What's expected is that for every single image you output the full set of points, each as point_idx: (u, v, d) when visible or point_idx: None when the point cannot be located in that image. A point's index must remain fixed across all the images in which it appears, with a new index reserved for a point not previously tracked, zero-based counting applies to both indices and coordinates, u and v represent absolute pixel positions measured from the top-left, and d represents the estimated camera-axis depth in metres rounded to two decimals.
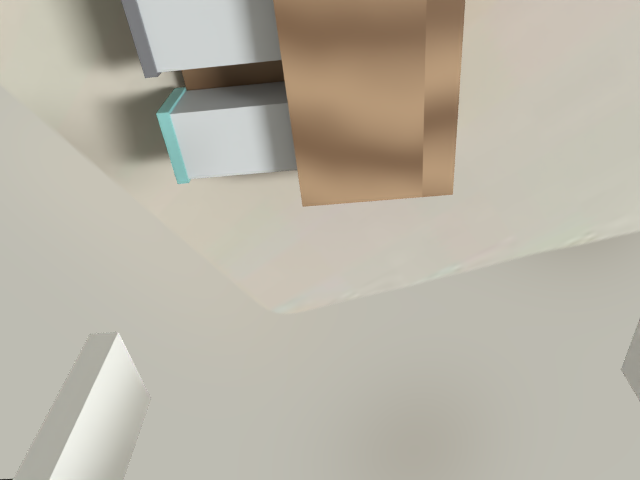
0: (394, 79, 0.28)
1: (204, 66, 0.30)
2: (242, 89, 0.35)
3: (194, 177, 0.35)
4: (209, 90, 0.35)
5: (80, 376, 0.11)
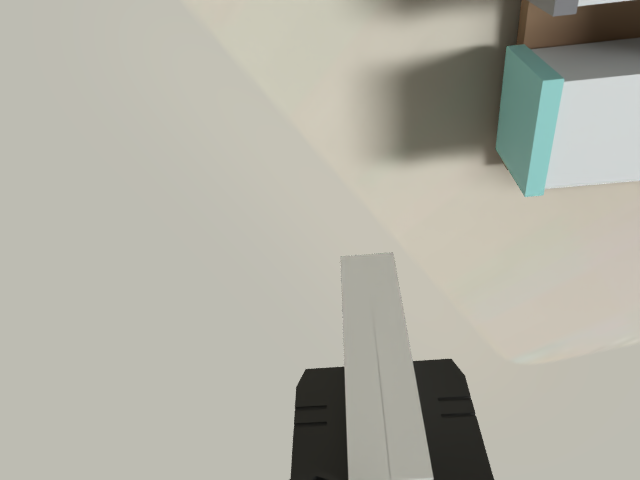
0: None
1: None
2: (634, 45, 0.22)
3: (553, 186, 0.22)
4: (569, 47, 0.22)
5: (354, 288, 0.13)
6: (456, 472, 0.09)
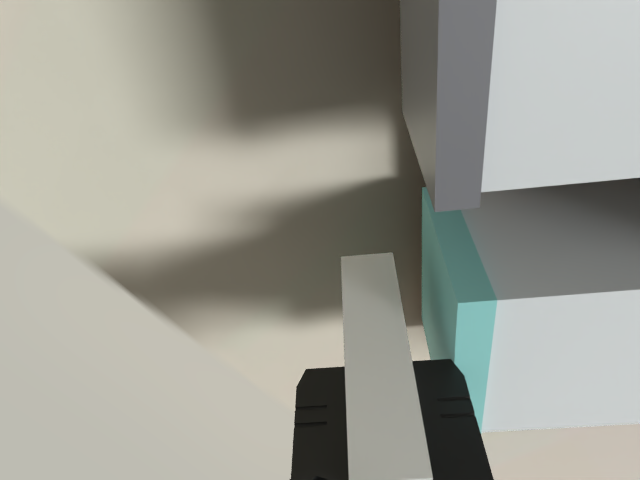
0: None
1: None
2: (628, 198, 0.13)
3: (495, 430, 0.13)
4: (520, 194, 0.14)
5: (354, 287, 0.13)
6: (456, 472, 0.09)
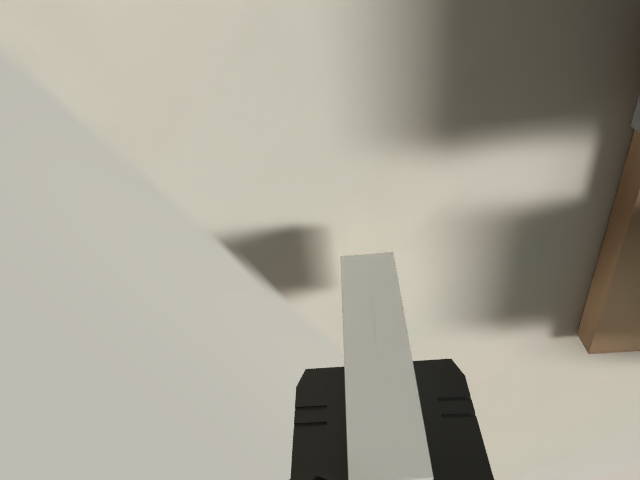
0: None
1: None
2: None
3: None
4: None
5: (354, 288, 0.13)
6: (456, 472, 0.09)
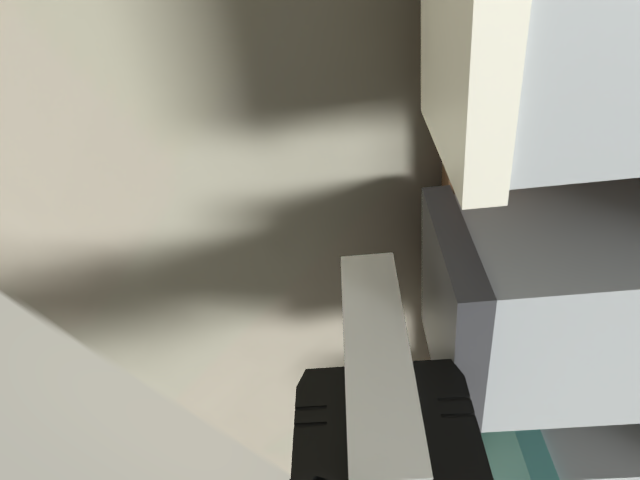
0: None
1: (594, 425, 0.13)
2: None
3: None
4: None
5: (354, 288, 0.13)
6: (456, 472, 0.09)
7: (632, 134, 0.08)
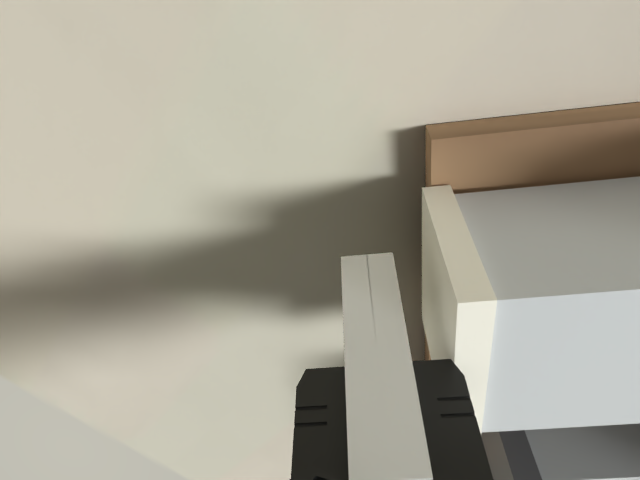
0: None
1: None
2: None
3: None
4: None
5: (354, 288, 0.13)
6: (456, 472, 0.09)
7: (560, 408, 0.13)
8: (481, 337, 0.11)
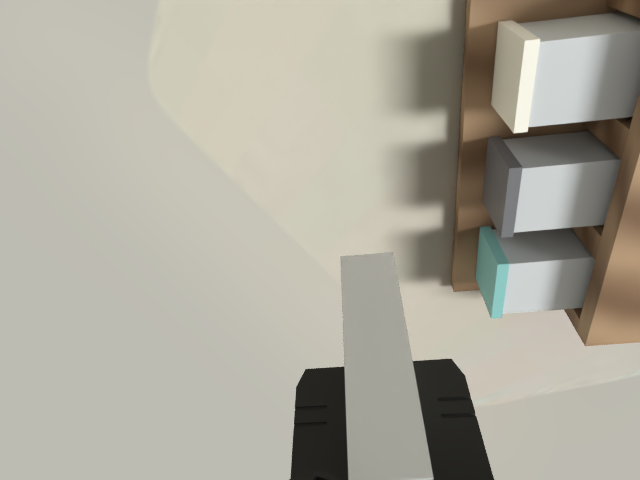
0: None
1: (558, 228, 0.33)
2: (553, 231, 0.37)
3: (507, 312, 0.37)
4: None
5: (354, 288, 0.13)
6: (456, 472, 0.09)
7: (564, 109, 0.28)
8: (533, 60, 0.27)
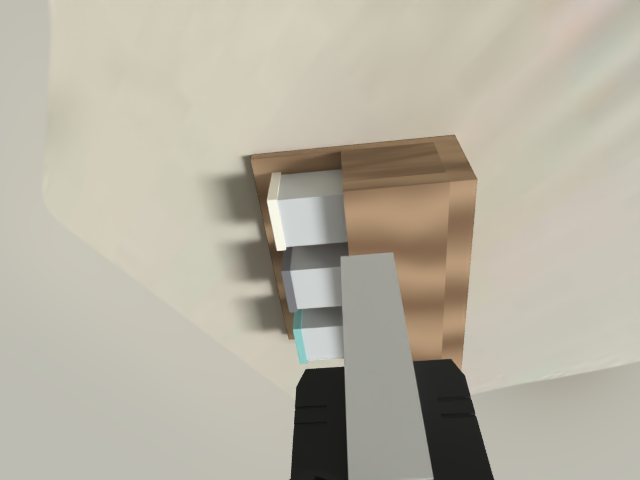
0: (424, 325, 0.46)
1: (328, 306, 0.47)
2: None
3: (311, 360, 0.52)
4: None
5: (354, 287, 0.13)
6: (456, 472, 0.09)
7: (307, 237, 0.43)
8: (275, 211, 0.41)
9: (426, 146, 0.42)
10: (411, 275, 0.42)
